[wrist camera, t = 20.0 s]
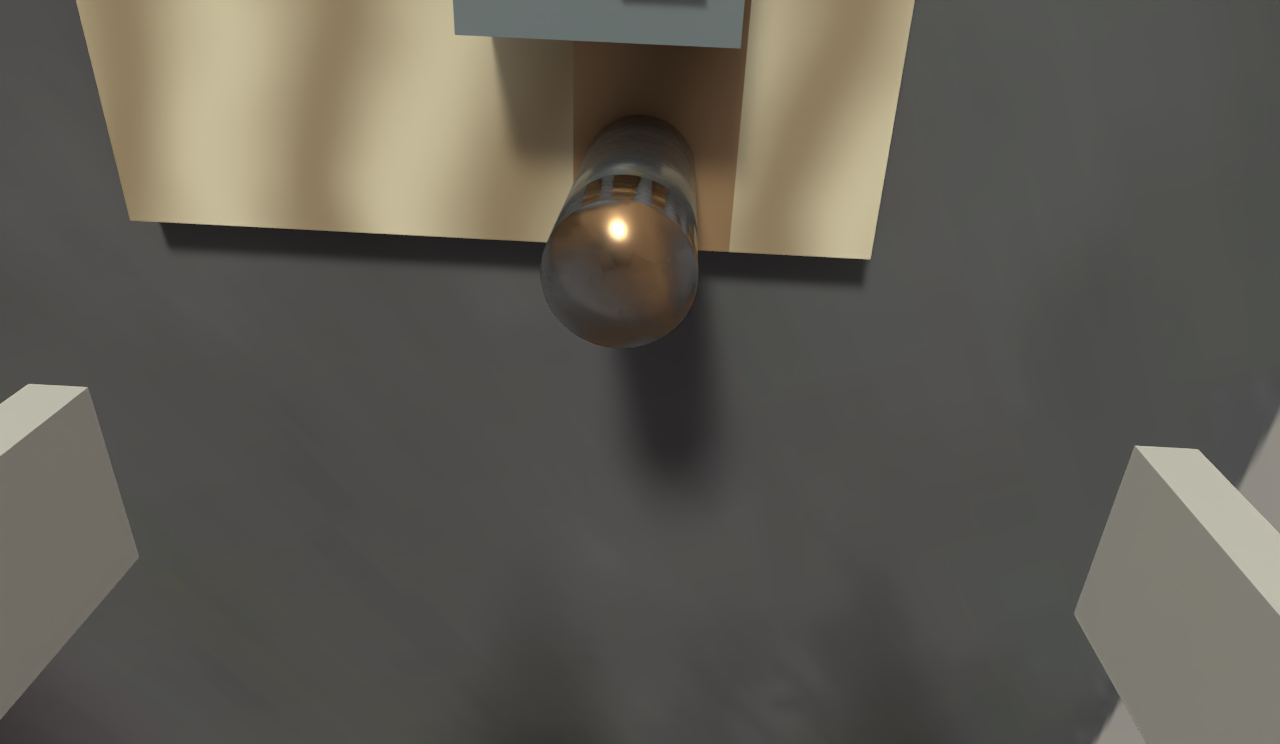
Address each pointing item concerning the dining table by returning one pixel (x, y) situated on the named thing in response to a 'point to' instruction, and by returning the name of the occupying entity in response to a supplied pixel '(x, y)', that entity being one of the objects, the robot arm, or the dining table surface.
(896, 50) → the board
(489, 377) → the dining table surface
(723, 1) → the block
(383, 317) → the dining table surface
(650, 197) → the metal cylinder
